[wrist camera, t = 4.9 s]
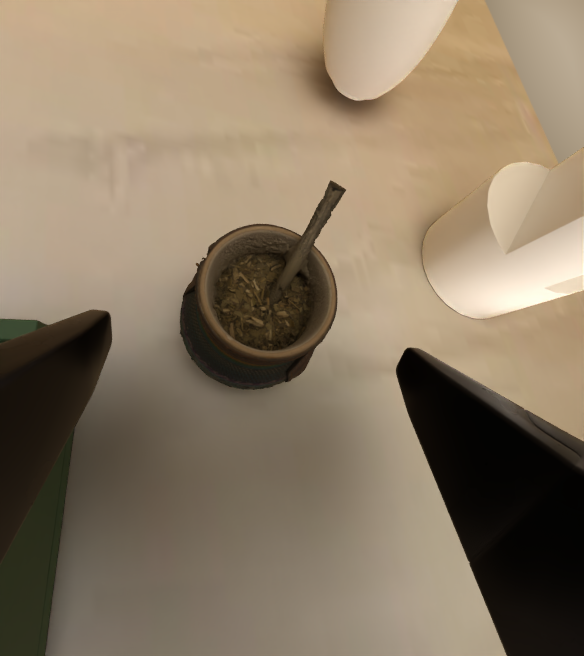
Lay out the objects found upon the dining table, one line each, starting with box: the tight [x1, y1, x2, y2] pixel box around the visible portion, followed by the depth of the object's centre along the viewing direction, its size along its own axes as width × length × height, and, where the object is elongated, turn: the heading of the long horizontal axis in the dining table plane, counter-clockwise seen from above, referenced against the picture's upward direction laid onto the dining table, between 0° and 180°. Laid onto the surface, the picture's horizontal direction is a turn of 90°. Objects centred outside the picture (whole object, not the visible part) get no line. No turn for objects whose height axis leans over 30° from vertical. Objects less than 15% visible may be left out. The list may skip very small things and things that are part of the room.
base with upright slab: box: [422, 147, 584, 319], centre depth 19 cm, size 9×9×12 cm
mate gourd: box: [180, 181, 346, 390], centre depth 14 cm, size 7×8×10 cm
